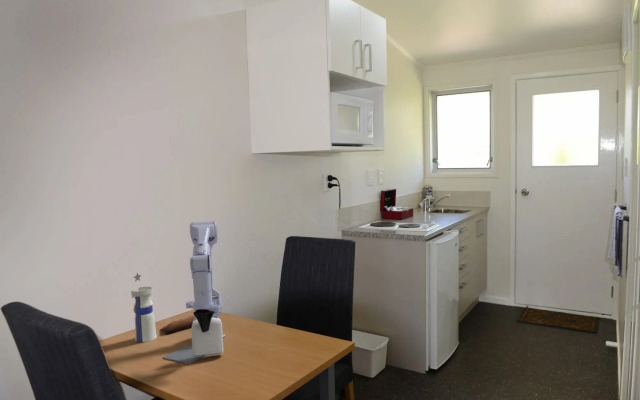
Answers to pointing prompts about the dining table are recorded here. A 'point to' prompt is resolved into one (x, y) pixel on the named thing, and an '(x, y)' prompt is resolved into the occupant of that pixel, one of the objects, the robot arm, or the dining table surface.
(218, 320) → the photo printer
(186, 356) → the topple mat
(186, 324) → the sunglasses case
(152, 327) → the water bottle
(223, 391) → the dining table surface
